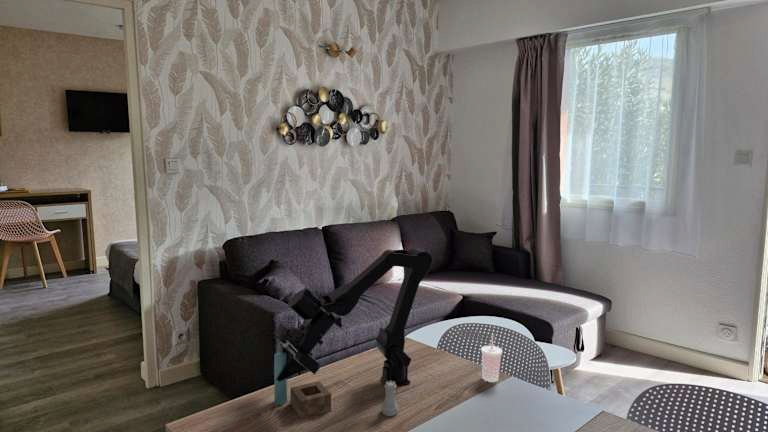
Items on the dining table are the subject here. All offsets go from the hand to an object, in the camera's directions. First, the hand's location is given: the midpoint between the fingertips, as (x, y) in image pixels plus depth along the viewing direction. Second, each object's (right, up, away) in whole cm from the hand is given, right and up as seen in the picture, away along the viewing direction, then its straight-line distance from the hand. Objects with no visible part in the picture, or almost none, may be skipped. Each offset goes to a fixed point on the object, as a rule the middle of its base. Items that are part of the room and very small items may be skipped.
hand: (275, 377), depth 131 cm
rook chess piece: (+30, -8, -2) cm, 31 cm away
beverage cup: (+60, -6, +18) cm, 63 cm away
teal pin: (+1, -7, +2) cm, 7 cm away
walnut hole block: (+9, -7, -1) cm, 12 cm away
